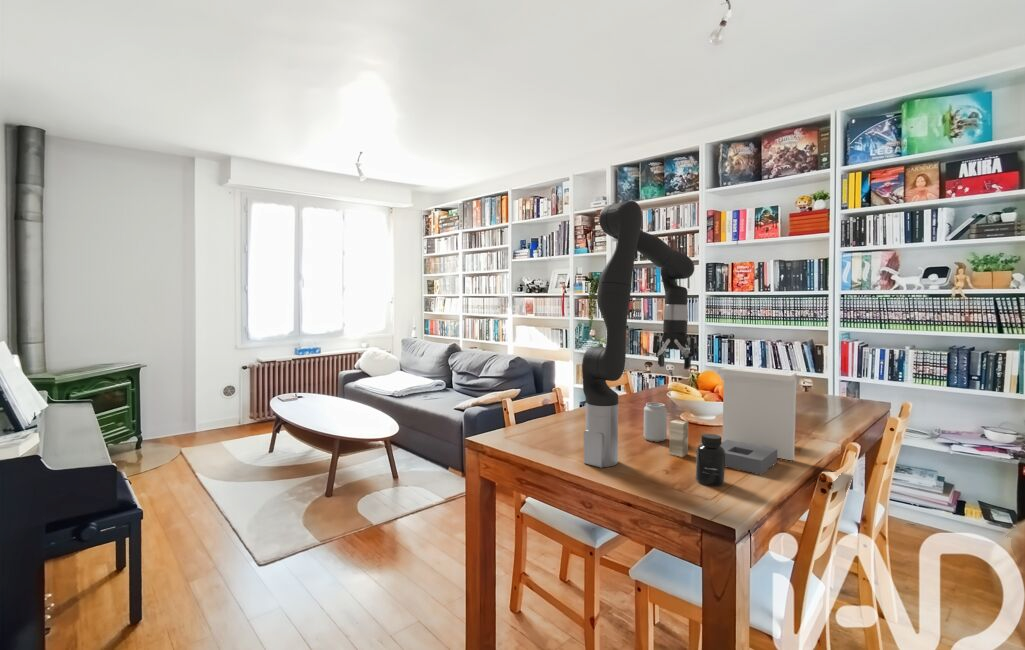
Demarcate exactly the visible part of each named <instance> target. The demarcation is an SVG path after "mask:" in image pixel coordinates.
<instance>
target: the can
mask: <svg viewBox="0 0 1025 650" xmlns="http://www.w3.org/2000/svg"><path fill="white" fill-rule="evenodd" d="M667 425H668V409H667V408H666V404H664V403H662V402H646V403H645V406H644V407H643V437H644V439H645V440H646V439H647V440H646V441H649V442H653V441H655V442H656V443H657V442H658V443H660V441H661V442H664V441H665V440H666V439H667V437H668V436H667V433H668V432H667V429H668V428H667V427H668V426H667Z"/></svg>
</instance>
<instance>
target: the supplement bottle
mask: <svg viewBox="0 0 1025 650" xmlns="http://www.w3.org/2000/svg"><path fill="white" fill-rule="evenodd" d="M700 438H701V439H700V443H701V444H699V445H698V446H697V447H696V461H695V462H696V463H695V479H696V481H697V483H700V484H701V485H704V486H709V487H720V486H723V485H724V484H725V472H726V471H725V470H726V467H725V450H724V448H723V447H721V446H720V445H721V444H722V439H723V437H722V435H721V436H720V435H718V434H716V433H715V434H714V433H703V434H701V437H700Z"/></svg>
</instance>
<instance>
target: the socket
mask: <svg viewBox="0 0 1025 650" xmlns="http://www.w3.org/2000/svg"><path fill="white" fill-rule="evenodd" d="M721 442H722V441H721ZM720 446H721V447H723V448H724V450H725V466H727V467H730V468H729V469H731V468H734V469H733V470H736V469H739V470H738V471H740V470H743V471H742V472H744V471H748V472H747V473H749V472H752V473H751V474H753V473H757V474H756V475H758V474H762V473H763V474H764V472H765V471H766V470H767V469H768V468H770V467H771V466H772V465H773V464H775V463H776V462H777V463H778V459H777V449H775V448H770V447H765V446H759V445H754V444H749V443H744V442H738V441H733V440H728V439H727V440H726V441H724V442H722V444H721V445H720ZM777 463H776V464H777ZM776 464H775V465H776ZM773 466H774V465H773ZM773 466H772V467H773ZM727 467H726V468H727ZM772 467H771V468H772ZM771 468H770V469H771ZM768 470H769V469H768ZM768 470H767V471H768ZM767 471H766V472H767ZM766 472H765V473H766ZM763 474H762V475H763Z"/></svg>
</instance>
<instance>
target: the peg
mask: <svg viewBox="0 0 1025 650" xmlns="http://www.w3.org/2000/svg"><path fill="white" fill-rule="evenodd" d="M668 446H669V449H668V451H669V452H668V453H669V454H670V456H674V455H675V457H678V456H679V458H684V457H686V456H688V454H689V421H687V420H680V419H674V420H671V421H669V445H668ZM685 455H686V456H685ZM683 456H684V457H683Z"/></svg>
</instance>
